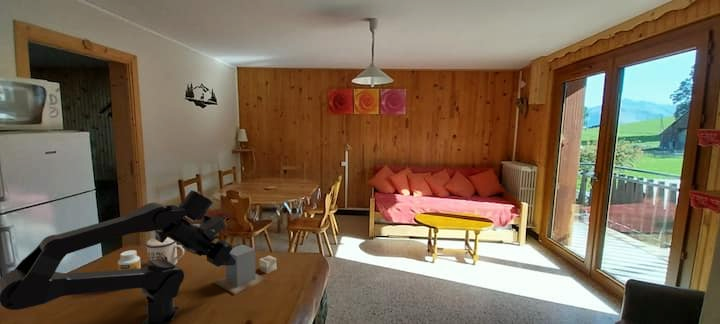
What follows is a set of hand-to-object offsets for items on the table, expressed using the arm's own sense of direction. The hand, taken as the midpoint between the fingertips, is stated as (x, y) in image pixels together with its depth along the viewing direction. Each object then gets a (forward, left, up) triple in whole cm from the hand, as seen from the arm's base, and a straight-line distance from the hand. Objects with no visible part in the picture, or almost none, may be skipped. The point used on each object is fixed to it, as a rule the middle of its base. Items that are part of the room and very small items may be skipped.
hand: (226, 259), depth 93 cm
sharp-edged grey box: (+3, -3, -8) cm, 10 cm away
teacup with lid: (+20, +24, -9) cm, 32 cm away
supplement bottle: (+8, +30, -9) cm, 32 cm away
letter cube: (+10, -11, -9) cm, 18 cm away
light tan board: (+3, -3, -9) cm, 10 cm away
